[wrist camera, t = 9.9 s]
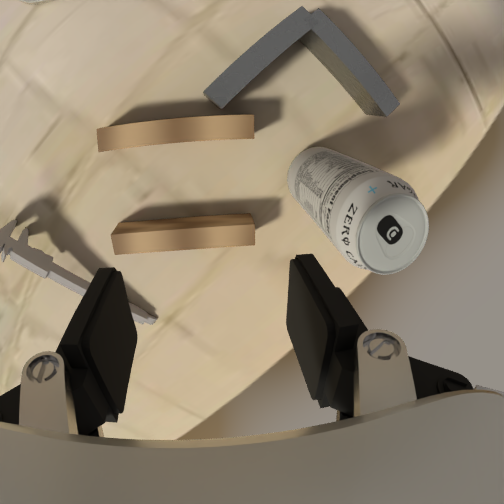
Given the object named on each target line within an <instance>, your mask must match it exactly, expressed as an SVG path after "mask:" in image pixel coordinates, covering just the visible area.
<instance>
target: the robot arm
mask: <svg viewBox="0 0 504 504" xmlns="http://www.w3.org/2000/svg"><path fill="white" fill-rule="evenodd" d="M20 1H22V2H24V3H27V4H42V3H47V2H50V1H53V0H20ZM286 325H287V330H288V333H289V336H290V339H291V342H292V344H293V347H294V350H295V353H296V355H297V358H298V361H299V364H300V367H301V370H302V372H303V375H304V378H305V381H306V384H307V387H308V390H309V392H310V395H311V398H312V399H313V400H316V399H317V400H318V402H319V405H320V408H324V407H328V406H330V407H331V408H334V409H336V410H337V416H336V422H332V423H327V424H322V425H317V426H312V427H306V428H301V429H295V430H289V431H283V432H276V433H268V434H261V435H252V436H242V437H233V438H220V439H203V440H202V439H200V440H136V439H118V438H105V437H104V434H103V430H102V426H101V425H102V424H104V423H105V422H117V420H118V414H119V413H123V411H124V405H125V400H126V394H127V388H128V383H129V378H130V373H131V368H132V363H133V358H134V353H135V348H136V344H137V331H136V327H135V324H134V320H133V316H132V313H131V309H130V305H129V301H128V298H127V294H126V290H125V285H124V281H123V277H122V273H121V272H120V271H117V270H116V269H115V268H114V267H113V268H99V269H98V271H97V273H96V275H95V276H94V278H93V280H92V282H91V283H90V285H89V287H88V289H87V291H86V293H85V294H84V296H83V298H82V300H81V302H80V304H79V306H78V308H77V309H76V311H75V313H74V315H73V317H72V319H71V321H70V323H69V325H68V327H67V329H66V331H65V333H64V335H63V337H62V339H61V341H60V344H59V346H58V348H57V350H56V352H51V351H47V352H41V353H38V354H36V355H35V356H33V357H31V358H30V359H29V360H28V361H27V362H26V364H25V365H24V367H23V371H22V378H21V384H20V385H18V386H17V387H15V388H13V389H11V390H10V391H8V392H6V393H5V394H3V395H1V396H0V504H504V392H501V391H497V390H493V389H490V388H486V387H482V386H479V385H476V387H475V388H473V387H472V385H471V383H470V382H469V381H468V379H467V378H465V377H464V376H463V375H461V374H459V373H456V372H453V371H450V370H447V369H444V368H441V367H438V366H435V365H432V364H429V363H427V362H423V361H420V360H417V359H415V358H412V357H409V356H408V353H407V349H406V346H405V343H404V341H403V340H402V339H401V338H400V337H399V336H398V335H396V334H394V333H392V332H390V331H387V330H381V329H373V330H369V331H368V329H367V328H366V326H365V325H364V323H363V322H362V320H361V319H360V317H359V316H358V314H357V313H356V311H355V310H354V308H353V307H352V305H351V304H350V302H349V301H348V299H347V298H346V296H345V295H344V293H343V292H342V290H341V289H340V288H338V287H335V286H334V285H333V283H332V282H331V280H330V279H329V277H328V276H327V274H326V273H325V271H324V270H323V268H322V267H321V265H320V264H319V262H318V261H317V260H316V258H315V257H314V255H313V254H302V255H296V257H295V259H291V260H290V270H289V287H288V303H287V318H286Z"/></svg>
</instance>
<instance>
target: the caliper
mask: <svg viewBox="0 0 504 504" xmlns="http://www.w3.org/2000/svg"><path fill="white" fill-rule="evenodd" d="M16 223H17V220H12V221H10V222H9V223H8V224H6V225H5V226H4V227H3V228H1V229H0V253H1V251H3V252H2V255H1V256H2V262H4V260H5V258H6V255H8V254H9V255H10V259H11V260H13V261H15V262H16V263H18V264H20V265H21V266H23V267H25V268H27V269H28V270H30V271H32V272H34V273H35V274H37V275H39V276H41V277H43V278H44V279H45V278H46V277H48V278H50V279H52V280H53V281H55V282H57V283H59V284H61V285H63V286H65V287H66V288H68V289H70V290H72V291H74V292H76V293H78V294H80V295H82V296H84V294H85V293H86V291H87V289H88V287H89V285H90V282H88V281H86V280H84V279H82V278H80V277H78V276H77V275H75V274H73V273H71V272H69V271H67V270H66V269H64V268H62V267H60V266H59V265H57V264H55V263H53V262H52V261H53V257H52V256H50V255H47V254H45V253H44V252H43V251H42V250H39V249H36V248H32V247H30V246H28V233H29V230H28V229H27V228H26V227H25V229H24V230H23V231H22V233H21V235H20V237H19V239H18V241H16V240H15V239H13V238H11V237H10V235H11V233H12V231H13V230H14V228H15V226H16ZM129 305H130V309H131V313H132V316H133V320H134V321H136V322H138V323H141V324H144V322H145V323H148V324H150V325H151V324H152V325H153V323H154V322H155V321H156V320H157V318H155V317H154V316H151V315H149V314H147V312H146V311H144V310H142V309H141V308H139V307H138V306H136V305H134V304H132V303H130V302H129Z"/></svg>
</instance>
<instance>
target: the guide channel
mask: <svg viewBox="0 0 504 504" xmlns="http://www.w3.org/2000/svg"><path fill="white" fill-rule="evenodd" d="M225 139H254V115H252V114H239V115H212V116H196V117H182V118H171V119H161V120H152V121H144V122H136V123H128V124H122V125H115V126H109V127H104V128H99V129H97V140H98V151H99V152H103V151H109V150H116V149H123V148H131V147H139V146H148V145H157V144H167V143H178V142H191V141H206V140H225ZM111 239H112V244H113V249H114V253H115V255H119V254H133V253H147V252H161V251H175V250H190V249H204V248H219V247H234V246H249V245H255V223H254V221H253V219H252V216H251V214H250V213H247V214H230V215H214V216H199V217H185V218H172V219H159V220H147V221H135V222H124V223H119V224H118V225H117V227H116V228H115V229H114V231H113V232H112V234H111Z"/></svg>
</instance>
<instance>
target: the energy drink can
mask: <svg viewBox="0 0 504 504" xmlns="http://www.w3.org/2000/svg"><path fill="white" fill-rule="evenodd" d="M287 182H288V187H289V190H290V193H291V194H292V196H293V197H294V198H295V200H296V201H297V202H298V203H299V204H300V205H301V207H302V208H303V209H304V210H305V211H306V212H307V214H308V215H309V216H310V217H311V218H312V219H313V221H314V222H315V223H316V224H317V225H318V227H319V228H320V229H321V230H322V231H323V233H324V234H325V235H326V236H327V237H328V239H329V240H330V241H331V242H332V243H333V245H334V246H335V247H336V248H337V250H338V251H339V252H340V253H341V254H342V256H343V257H344V258H345V259H346V261H348V262H349V263H350V264H352V265H353V266H356V267H358V268H361V269H367V270H370V271H372V272H374V273H377V274H382V275H383V274H392V273H396V272H398V271H400V270H403V269H404V268H406V267H407V266H409V265H410V264H411V263H412V262H413V261H414V260H415V259H416V258H417V256H418V255H419V254H420V252H421V250H422V249H423V247H424V245H425V242H426V239H427V236H428V229H429V222H428V216H427V212H426V210H425V208H424V206H423V205H422V204H421V202H420V201H419V200H418V197H417V195H416V193H415V191H414V190H413V188H412V187H411V186H410V185H409V184H408V183H407V182H405V181H404V180H402V179H400V178H398V177H396V176H394V175H392V174H389V173H387V172H385V171H383V170H380V169H378V168H376V167H373V166H371V165H369V164H366V163H364V162H362V161H359V160H357V159H354V158H352V157H349V156H347V155H344V154H342V153H339V152H337V151H334V150H331V149H328V148H325V147H312V148H309V149H306V150H304V151H303V152H301V153H300V154H299V155H297V156H296V157H295V159H294V160H293V161H292V163H291V165H290V167H289V170H288V176H287Z"/></svg>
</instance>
